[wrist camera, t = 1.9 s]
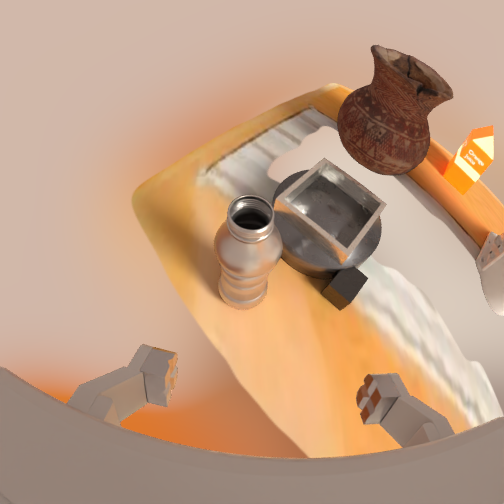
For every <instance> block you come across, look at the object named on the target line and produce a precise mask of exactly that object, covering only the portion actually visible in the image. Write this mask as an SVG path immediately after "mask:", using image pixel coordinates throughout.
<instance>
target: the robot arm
mask: <svg viewBox="0 0 504 504" xmlns="http://www.w3.org/2000/svg"><path fill="white" fill-rule="evenodd" d="M476 266H477V269H478V271H479V274H480V278H481V284H482V288H483V292H484V295H485V298H486V300H487V302H488V304H489V306H490V307H491V309H492V310H493V311H494V312H495V313H496V314H498V315H500V316H503V315H504V233H503V234H501V235H497V234H495V233H494V232H490V233H489V234H488V236H487V238H486V240H485V242H484V245H483V247H482V249H481V251H480V253H479V255H478V257H477V259H476ZM177 359H178V358H177V353H175V352H171V351H167V350H164V349H160V348H156V347H151V346H148V345H145V344H142V345H141V346H140V347H139V349H138V350H137V352H136V354H135V355H134V357H133V359H132V360H131V362H130V363H129V365H128V367H122V368H120V369H117V370H115V371H113V372H111V373H108V374H106V375H103V376H101V377H98V378H96V379H94V380H91V381H89V382H86V383H84V384H81V385H79V387H78V388H77V390H76V391H75V392H74V394H73V396H72V397H71V398H70V400H69V401H68V403H67V404H65V403H63V402H61V401H60V400H58V399H56V398H54V397H52V396H50V395H48V394H46V393H45V392H43V391H41V390H39V389H37V388H36V387H34V386H32V385H30V384H29V383H28V382H26V381H24V380H23V379H21V378H19V377H18V376H17V375H15V374H14V373H12V372H11V371H9V370H8V369H6V368H4V367H0V504H504V417H498V418H496V419H494V420H491V421H489V422H487V423H484V424H482V425H479V426H477V427H474V428H472V429H469V430H466V431H463V432H460V433H457V434H455V433H454V432H453V430H452V428H451V426H450V424H449V422H448V420H447V419H446V418H445V417H444V416H442V415H441V414H439V413H438V412H436V411H435V410H433V409H432V408H430V407H429V406H427V405H426V404H424V403H423V402H421V401H420V400H418V399H417V398H415V397H414V396H410V395H409V393H408V391H407V389H406V387H405V386H404V384H403V382H402V380H401V378H400V376H399V375H398V374H397V373H387V374H368V375H367V376H366V377H365V379H364V383H365V384H364V385H363V386H361V387H360V388H359V390H358V392H357V397H356V401H357V405H358V407H359V408H360V409H361V410H362V411H361V413H360V415H361V418H362V421H363V424H380V425H381V426H382V427H383V428H384V429H385V430H386V431H387V432H388V433H389V434H390V435H391V436H392V437H393V438H394V439H395V440H396V441H397V442H398V443H399V444H400V445H401V446H402V447H403V448H401V449H396V450H390V451H384V452H378V453H371V454H363V455H354V456H343V457H328V458H276V457H260V456H248V455H239V454H231V453H224V452H217V451H211V450H205V449H200V448H195V447H190V446H186V445H181V444H177V443H172V442H169V441H164V440H161V439H157V438H154V437H150V436H147V435H144V434H140V433H137V432H134V431H131V430H128V429H125V428H122V427H121V424H120V422H121V421H122V420H124V419H125V418H127V417H128V416H130V415H131V414H133V413H134V412H136V411H137V410H138V409H140V408H141V407H143V406H144V405H145V404H147V402H148V403H152V404H156V405H160V406H165V407H167V406H168V403H169V401H170V398H171V390H172V389H174V387H175V384H176V380H177V373H178V368H177V366H176V363H177Z"/></svg>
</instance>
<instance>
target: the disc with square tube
mask: <svg viewBox="0 0 504 504" xmlns="http://www.w3.org/2000/svg"><path fill="white" fill-rule="evenodd" d="M385 206H386V203H384V202H383V201H382V200H380V199H379V198H378V197H377V196H376V195H374V194H373V193H372V192H371V191H369V190H368V189H367V188H365V187H364V186H363V185H362V184H360V183H359V182H357V181H356V180H355V179H353V178H352V177H351V176H349V175H348V174H347V173H345V172H344V171H342V170H341V169H339V168H338V167H337V166H335V165H334V164H332V163H331V162H330V161H328V160H327V159H325V158H324V159H322V160H321V161H320V162H319V163H317V164H316V165H315V166H314V167H313V168H311V169H310V170H304V171H300V172H297V173H295V174H293V175H291V176H289V177H288V178H286V179H285V180H284V181H283V182H282V183H281V184H280V185H279V187H278V188H277V190H276V192H275V194H274V197H273V202H272V207H273V209H274V225H275V226H276V227H277V229H278V230H279V233H280V235H281V239H282V244H283V250H282V254H281V258H282V259H283V260H284V261H285V262H286V263H287V264H288V265H290V266H291V267H292V268H294V269H295V270H297V271H299V272H300V273H303V274H305V275H307V276H310V277H314V278H319V279H332V280H331V282H330V283H329V284H328V285H327V287H326V288H325V289H324V290H323V291H322V293H321V294H322V295H323V296H324V297H325V298H326V299H327V300H329V301H330V302H331V303H332V304H333V305H334V306H336V307H337V308H338V309H339V310H342V309H343V308H345V307H346V306H347V305H349V304H350V303H351V302H352V301H353V299H354V298H355V296H356V295H357V294H358V292H359V291H360V289H361V288H362V286H363V285H364V284H365V282H366V281H367V279H368V278H367V277H366V276H365V275H364V274H363V273H362V272H360V271H359V270H358V269H357V268H359V267H360V266H361V264H362V263H363V262H364V261H365V260H366V259H367V258H368V257H369V256H370V255H371V254H372V253H373V252H374V251H375V249H376V247H377V246H378V244H379V241H380V237H381V228H382V227H381V219H380V216H379V215H380V213H381V212H382V211H383V209H384V207H385Z"/></svg>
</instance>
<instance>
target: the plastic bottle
mask: <svg viewBox="0 0 504 504" xmlns="http://www.w3.org/2000/svg"><path fill="white" fill-rule="evenodd" d="M227 214H228V217H227V220H226V221H225V222H224V223H223V224H222V225H221V226H220V228H219V229H218V231H217V233H216V236H215V239H214V250H215V254H216V257H217V259H218V262H219V264H220V266H221V270H222V273H221V275H220V278H219V282H218V290H219V293H220V295H221V297H222V299H223V300H224V301H225V302H226V303H227V304H228V305H229V306H231V307H233V308H236V309H240V310H246V309H250V308H253V307H255V306H257V305H258V304H259V303H260V302H262V300H263V299H264V298H265V296H266V293H267V287H268V282H267V276H268V274H269V273H270V271H271V270H272V269H273V268H274V267H275V265H276V264H277V262H278V261H279V259H280V257H281V254H282V250H283V244H282V239H281V235H280V233H279V230H278V229H277V227H276V226H275V225H274V209H273V207H272V205H271V204H270V203H269V202H268V201H267V200H266V199H264V198H262V197H260V196H257V195H243V196H240V197H238V198H236V199H234V200H233V201H232V202H231V204H230V205H229V208H228V213H227Z"/></svg>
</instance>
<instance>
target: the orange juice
mask: <svg viewBox="0 0 504 504" xmlns="http://www.w3.org/2000/svg"><path fill="white" fill-rule="evenodd" d="M492 161H493V126H488V127H483V128H478V129H474V130H472V131H471V133H470V135H469V136H468V137H467V139H466V140H465V142H464V143H463V144H462V146H461V147H460V149H459V150H458V151H457V153H456V154H455V155H454V157H453V158H452V159H451V161H450V162H449V163H448V166H447V168H446V171H445V173H444V176H443V177H444V178H445V179H446V180H447V181H448V182H449V183H450V184H451V185H453V186H454V187H455V188H456V189H457V190H458V191H459V192H460V193H461V194H462V195H464V194H465V193H466V192H467V190H468V189H469V188H470V187H471V186H472V185H473V184H474V183H475V182H476V181H477V179H478V178H479V177H480V176H481V175H482V173H483V172H484V171H485V170H486V169H487V167H488V166H489V165H490V164H491V163H492Z"/></svg>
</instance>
